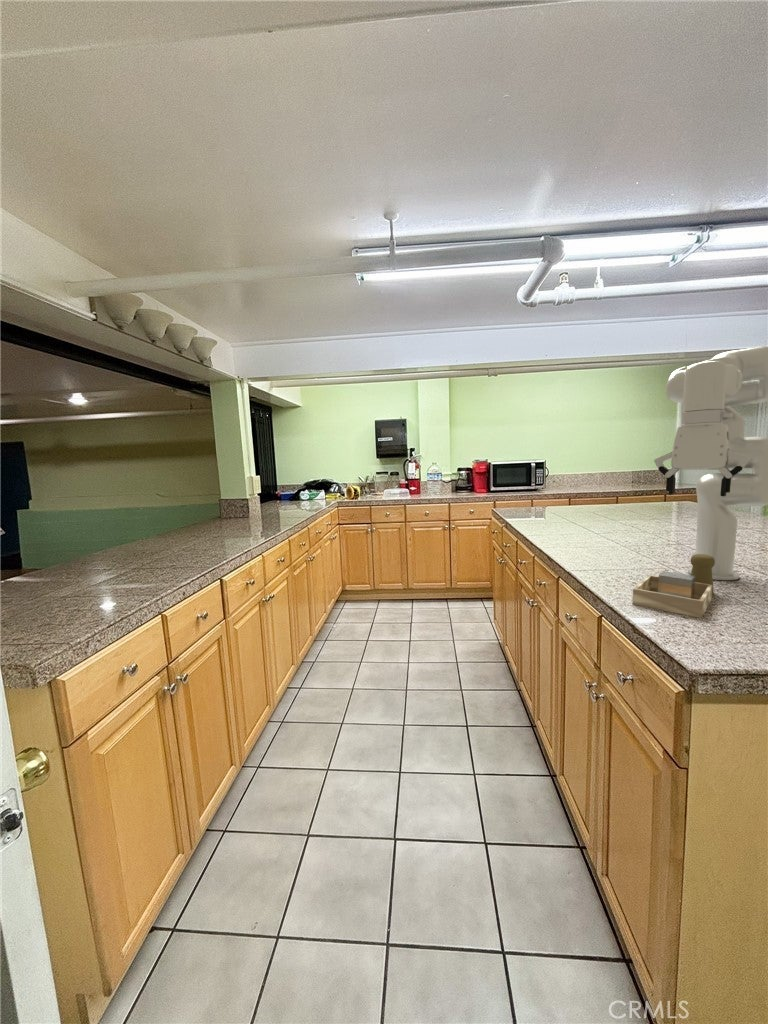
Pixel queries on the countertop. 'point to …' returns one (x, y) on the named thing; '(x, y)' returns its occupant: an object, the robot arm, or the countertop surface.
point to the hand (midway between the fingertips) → (696, 494)
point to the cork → (703, 568)
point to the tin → (676, 584)
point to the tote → (672, 598)
